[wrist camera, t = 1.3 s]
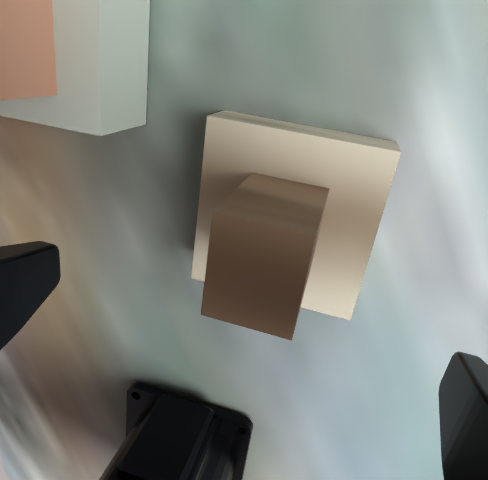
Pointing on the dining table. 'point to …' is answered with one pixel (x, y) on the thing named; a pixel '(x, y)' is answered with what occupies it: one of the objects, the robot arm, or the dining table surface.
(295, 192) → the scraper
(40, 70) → the tile
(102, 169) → the dining table surface
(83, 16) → the deck
